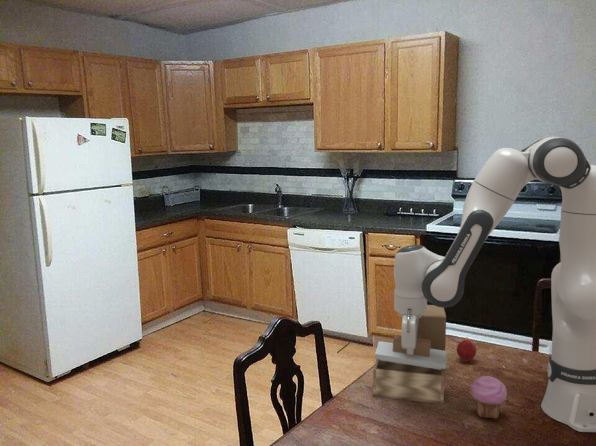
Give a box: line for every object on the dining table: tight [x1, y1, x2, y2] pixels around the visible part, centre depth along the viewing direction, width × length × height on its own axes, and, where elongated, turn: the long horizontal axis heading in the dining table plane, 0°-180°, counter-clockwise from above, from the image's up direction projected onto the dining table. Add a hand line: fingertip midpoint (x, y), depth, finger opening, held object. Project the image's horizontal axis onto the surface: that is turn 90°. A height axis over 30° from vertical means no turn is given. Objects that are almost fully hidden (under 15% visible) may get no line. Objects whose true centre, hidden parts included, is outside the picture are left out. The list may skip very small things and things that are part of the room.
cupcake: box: [469, 375, 508, 420], centre depth 131 cm, size 9×9×10 cm
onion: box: [456, 336, 477, 362], centre depth 162 cm, size 6×6×8 cm
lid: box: [374, 334, 447, 370], centre depth 142 cm, size 19×9×6 cm, turn 74°
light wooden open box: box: [372, 358, 445, 405], centre depth 143 cm, size 19×9×8 cm, turn 74°
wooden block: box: [417, 304, 447, 379], centre depth 155 cm, size 10×10×20 cm
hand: (410, 351), depth 142 cm, fingers closed on lid, 2 cm apart
